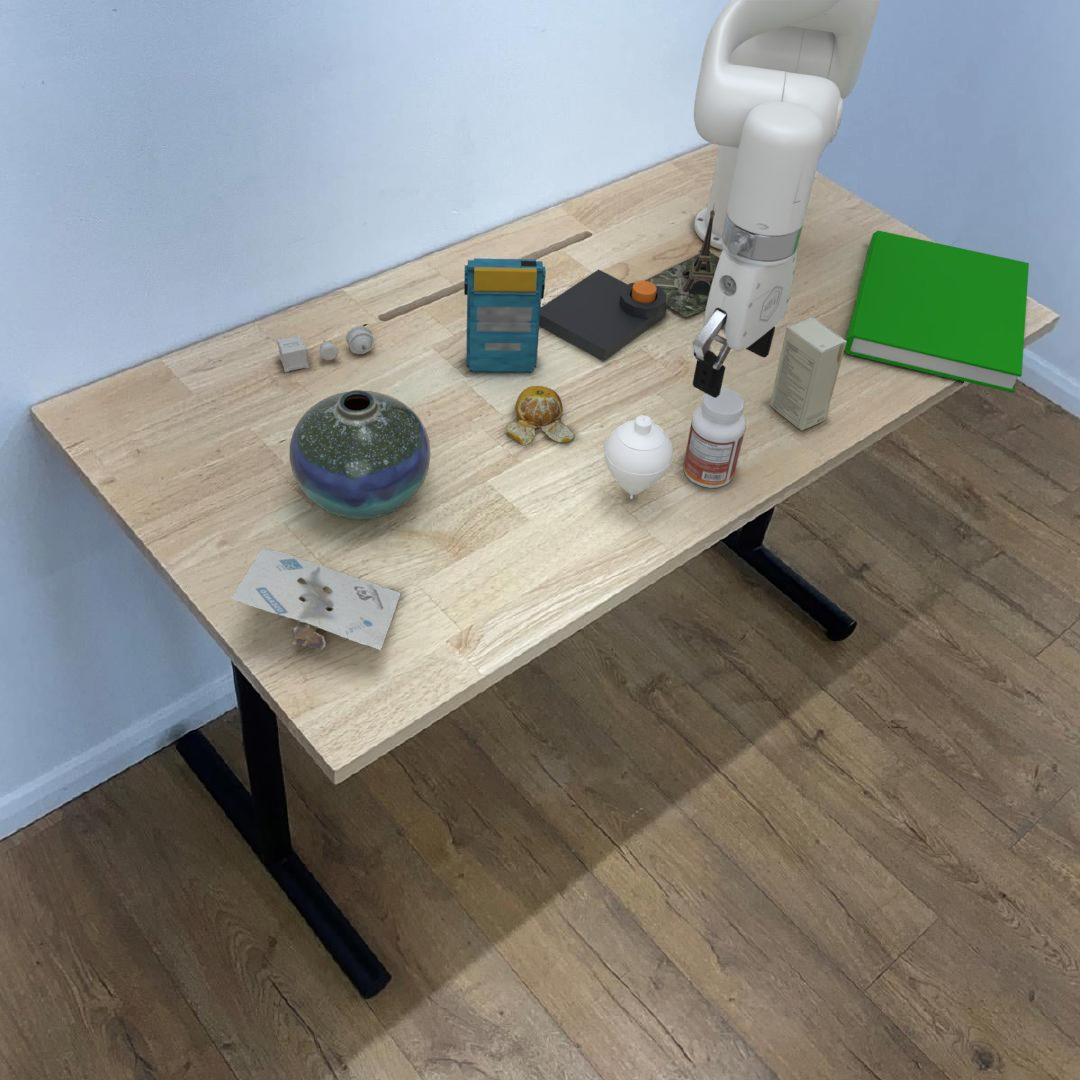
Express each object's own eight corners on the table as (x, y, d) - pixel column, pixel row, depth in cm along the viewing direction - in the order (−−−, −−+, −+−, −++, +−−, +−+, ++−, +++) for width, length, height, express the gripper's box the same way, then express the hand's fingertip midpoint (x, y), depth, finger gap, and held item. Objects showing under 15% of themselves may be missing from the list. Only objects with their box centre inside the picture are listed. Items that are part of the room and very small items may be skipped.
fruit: (507, 445, 140) (508, 421, 138) (503, 400, 146) (504, 377, 143) (575, 444, 141) (578, 421, 139) (568, 399, 147) (571, 376, 144)
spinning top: (587, 506, 134) (596, 427, 125) (615, 467, 139) (626, 388, 130) (647, 531, 132) (661, 452, 123) (674, 490, 137) (689, 412, 128)
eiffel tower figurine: (706, 252, 172) (721, 169, 162) (758, 284, 167) (777, 200, 157) (634, 288, 164) (646, 203, 155) (687, 322, 160) (702, 237, 150)
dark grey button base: (599, 279, 166) (602, 257, 163) (671, 316, 160) (675, 294, 158) (533, 323, 158) (534, 301, 155) (607, 363, 152) (609, 341, 150)
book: (1021, 280, 171) (1028, 262, 169) (1013, 393, 152) (1021, 374, 150) (868, 247, 175) (874, 229, 173) (842, 352, 156) (848, 334, 154)
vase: (356, 562, 126) (348, 472, 116) (266, 489, 133) (252, 399, 123) (459, 493, 134) (459, 403, 124) (369, 428, 141) (364, 338, 131)
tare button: (640, 287, 159) (642, 277, 158) (659, 297, 158) (661, 287, 157) (626, 297, 157) (628, 287, 156) (645, 307, 156) (647, 297, 155)
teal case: (538, 356, 153) (545, 257, 142) (539, 376, 150) (547, 277, 139) (463, 355, 152) (464, 256, 141) (463, 375, 149) (464, 276, 138)
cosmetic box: (826, 421, 147) (850, 342, 138) (800, 432, 145) (823, 353, 136) (791, 392, 150) (813, 314, 142) (766, 403, 149) (786, 324, 140)
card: (367, 687, 115) (381, 647, 113) (219, 638, 114) (231, 596, 112) (388, 629, 126) (401, 591, 123) (252, 583, 124) (263, 544, 122)
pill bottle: (708, 447, 142) (723, 375, 134) (744, 475, 139) (762, 404, 131) (671, 467, 139) (685, 395, 131) (707, 497, 136) (724, 425, 128)
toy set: (282, 354, 145) (275, 336, 147) (285, 375, 147) (279, 358, 149) (376, 335, 148) (368, 318, 150) (377, 356, 151) (369, 339, 153)
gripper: (745, 283, 109) (715, 423, 121) (837, 214, 119) (800, 351, 131) (680, 251, 112) (656, 391, 124) (775, 187, 122) (744, 323, 134)
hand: (730, 370), depth 128 cm, fingers open, 9 cm apart
